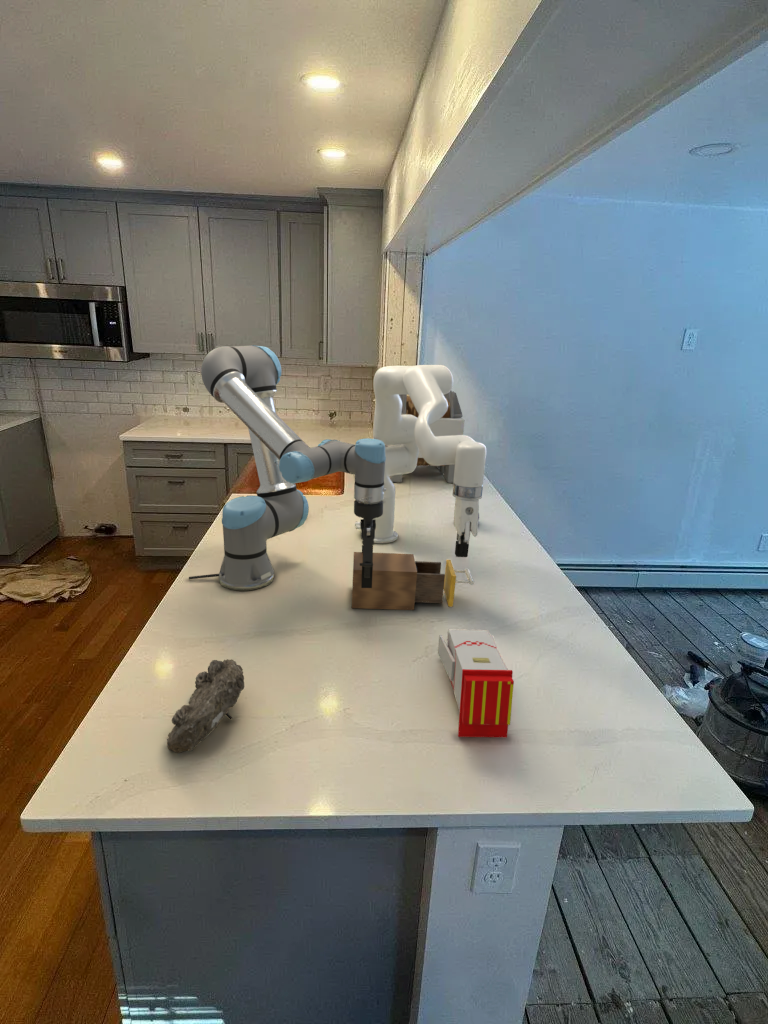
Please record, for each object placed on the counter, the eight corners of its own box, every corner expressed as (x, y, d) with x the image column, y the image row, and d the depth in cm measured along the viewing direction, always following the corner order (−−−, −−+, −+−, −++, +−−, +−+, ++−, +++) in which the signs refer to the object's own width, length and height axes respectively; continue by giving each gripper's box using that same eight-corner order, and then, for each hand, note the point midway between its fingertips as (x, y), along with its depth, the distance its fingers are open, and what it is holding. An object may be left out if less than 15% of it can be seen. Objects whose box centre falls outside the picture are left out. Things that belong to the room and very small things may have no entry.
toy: (488, 613, 130) (523, 677, 101) (484, 667, 133) (517, 744, 104) (435, 612, 130) (455, 676, 101) (432, 666, 133) (451, 743, 103)
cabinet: (410, 590, 160) (413, 554, 157) (414, 610, 150) (417, 572, 146) (352, 588, 160) (353, 551, 156) (351, 608, 149) (353, 569, 145)
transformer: (382, 463, 289) (386, 382, 275) (445, 464, 293) (451, 384, 279) (390, 482, 257) (394, 392, 243) (460, 483, 261) (468, 394, 247)
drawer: (465, 589, 160) (469, 560, 157) (472, 607, 151) (476, 576, 148) (394, 587, 159) (396, 557, 156) (396, 605, 150) (398, 574, 147)
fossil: (192, 660, 117) (244, 628, 112) (224, 691, 120) (276, 661, 115) (142, 746, 98) (202, 712, 93) (182, 779, 101) (242, 748, 96)
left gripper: (385, 516, 134) (381, 598, 141) (381, 486, 156) (379, 558, 164) (353, 515, 133) (351, 598, 141) (354, 485, 156) (353, 558, 163)
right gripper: (488, 500, 138) (480, 568, 144) (476, 482, 152) (470, 545, 158) (457, 499, 138) (451, 567, 144) (448, 481, 152) (443, 544, 158)
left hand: (366, 577), depth 152 cm, fingers closed on cabinet, 11 cm apart
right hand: (461, 555), depth 151 cm, fingers closed
